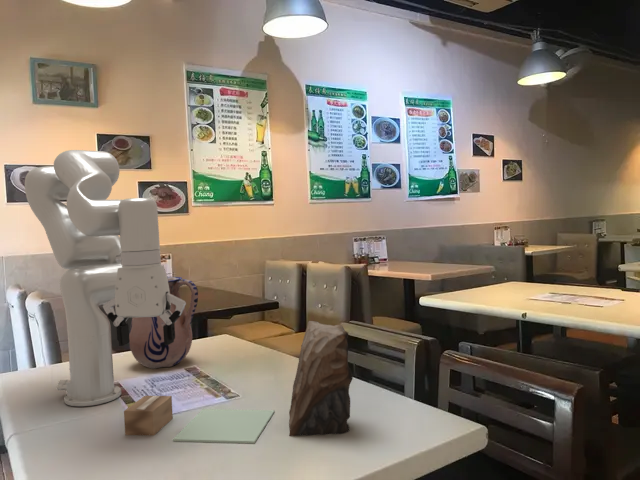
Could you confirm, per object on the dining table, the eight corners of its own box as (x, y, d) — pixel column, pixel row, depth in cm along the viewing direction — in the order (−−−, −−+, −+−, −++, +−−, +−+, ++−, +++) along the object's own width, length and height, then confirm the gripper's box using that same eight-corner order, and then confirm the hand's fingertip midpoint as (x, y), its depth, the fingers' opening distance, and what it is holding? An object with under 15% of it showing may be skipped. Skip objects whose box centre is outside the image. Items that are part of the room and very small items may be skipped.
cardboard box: (125, 435, 110) (123, 409, 109) (146, 418, 118) (144, 394, 118) (153, 436, 109) (152, 410, 108) (172, 419, 118) (171, 395, 117)
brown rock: (302, 412, 118) (299, 319, 117) (361, 414, 115) (358, 319, 114) (286, 436, 106) (281, 332, 105) (351, 439, 103) (347, 333, 102)
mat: (172, 441, 105) (172, 439, 105) (203, 410, 121) (202, 409, 121) (254, 443, 103) (254, 441, 103) (274, 412, 119) (274, 410, 119)
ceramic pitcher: (147, 356, 170) (142, 275, 169) (213, 356, 168) (209, 273, 166) (118, 373, 153) (113, 283, 152) (192, 373, 150) (187, 281, 149)
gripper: (91, 263, 109) (96, 349, 110) (174, 259, 107) (179, 347, 107) (110, 260, 117) (116, 340, 117) (189, 256, 114) (194, 339, 115)
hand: (146, 344), depth 112 cm, fingers open, 9 cm apart
